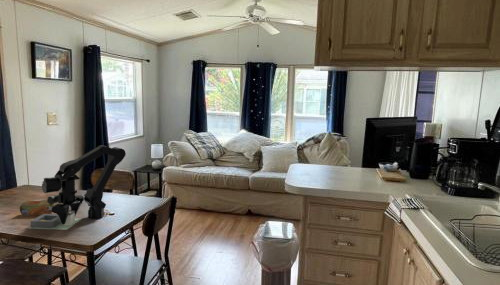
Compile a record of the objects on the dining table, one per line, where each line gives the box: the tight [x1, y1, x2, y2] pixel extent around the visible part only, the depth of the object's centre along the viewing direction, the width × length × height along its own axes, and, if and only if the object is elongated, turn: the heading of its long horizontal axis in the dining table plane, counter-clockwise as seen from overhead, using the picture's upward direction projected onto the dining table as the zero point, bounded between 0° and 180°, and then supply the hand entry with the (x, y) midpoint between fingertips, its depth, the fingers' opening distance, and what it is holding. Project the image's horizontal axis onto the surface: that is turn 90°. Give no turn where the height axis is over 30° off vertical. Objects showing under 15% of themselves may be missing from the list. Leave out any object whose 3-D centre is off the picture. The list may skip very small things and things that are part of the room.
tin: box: [19, 199, 55, 217], centre depth 162 cm, size 15×3×8 cm, turn 105°
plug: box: [62, 209, 76, 225], centre depth 153 cm, size 4×4×6 cm
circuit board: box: [27, 218, 82, 231], centre depth 153 cm, size 18×14×1 cm
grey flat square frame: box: [30, 213, 61, 229], centre depth 151 cm, size 10×10×3 cm
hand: (68, 220), depth 153 cm, fingers open, 9 cm apart
